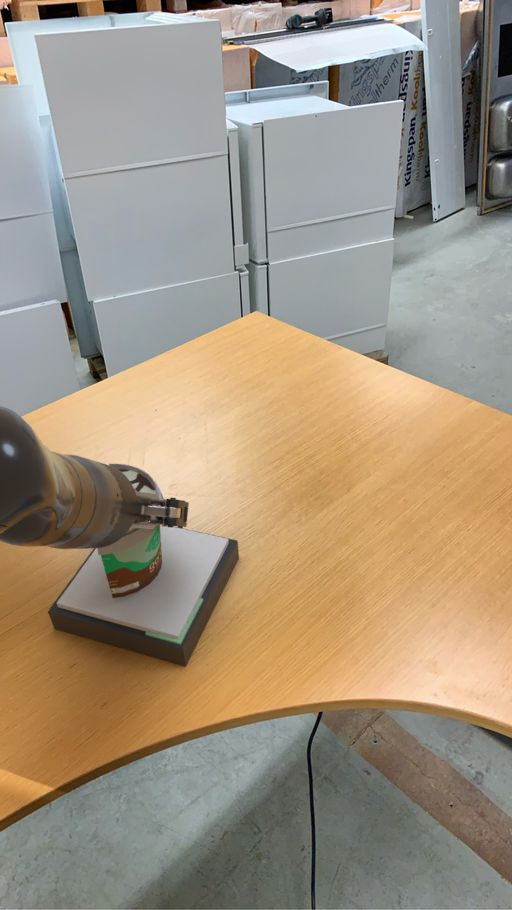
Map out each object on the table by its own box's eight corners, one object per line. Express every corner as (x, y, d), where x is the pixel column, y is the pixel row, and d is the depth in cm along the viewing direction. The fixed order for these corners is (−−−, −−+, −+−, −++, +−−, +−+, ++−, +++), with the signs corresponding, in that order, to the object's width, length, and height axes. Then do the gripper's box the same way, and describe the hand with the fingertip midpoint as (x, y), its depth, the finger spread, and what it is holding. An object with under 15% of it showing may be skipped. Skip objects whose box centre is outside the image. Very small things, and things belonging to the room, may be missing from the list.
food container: (170, 605, 68) (160, 536, 62) (110, 609, 68) (94, 539, 62) (174, 524, 78) (165, 457, 72) (122, 527, 78) (109, 460, 71)
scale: (53, 628, 72) (45, 606, 70) (122, 530, 84) (117, 509, 82) (185, 666, 68) (181, 644, 65) (239, 557, 80) (237, 535, 77)
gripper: (165, 464, 53) (208, 481, 70) (1, 452, 55) (80, 472, 72) (155, 556, 52) (201, 552, 69) (-11, 541, 55) (72, 540, 71)
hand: (139, 511), depth 70 cm, fingers closed on food container, 6 cm apart
